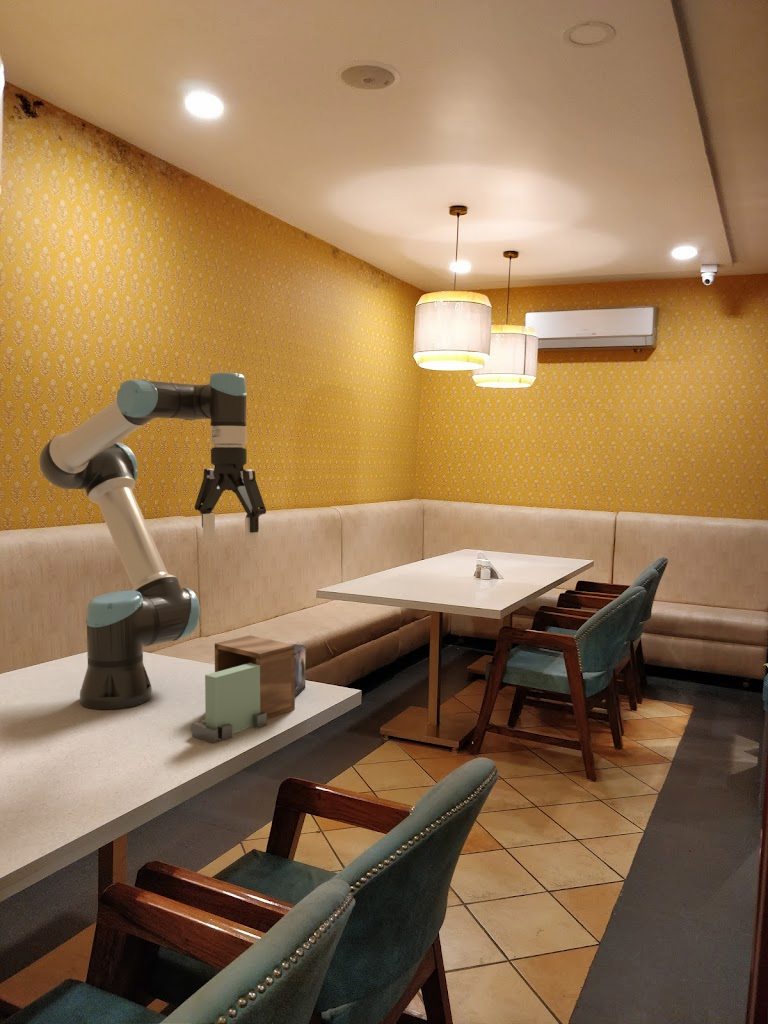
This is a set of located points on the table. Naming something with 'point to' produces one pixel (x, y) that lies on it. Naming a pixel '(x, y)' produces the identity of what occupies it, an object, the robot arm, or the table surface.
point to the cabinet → (263, 669)
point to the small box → (299, 668)
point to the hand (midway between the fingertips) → (229, 545)
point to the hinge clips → (223, 729)
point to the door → (233, 697)
